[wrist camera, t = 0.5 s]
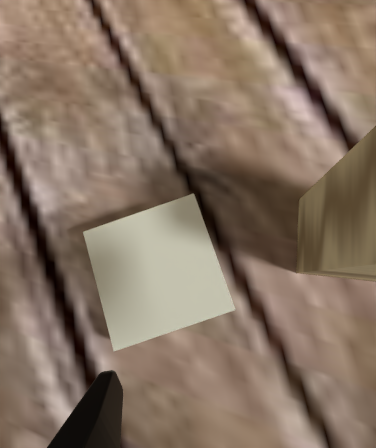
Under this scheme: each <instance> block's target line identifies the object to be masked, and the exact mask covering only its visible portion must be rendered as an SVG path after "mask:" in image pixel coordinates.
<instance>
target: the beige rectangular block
mask: <svg viewBox="0 0 376 448" xmlns="http://www.w3.org/2000/svg"><path fill="white" fill-rule="evenodd" d="M296 273H301V274H310V275H319V276H329V277H338V278H347V279H356V280H366V281H375V282H376V126H375V127H374V128H373V129H372V130H371V131H370V132H369V133H368V134H367V135H366V136H365V137H364V138H363V139H362V140H360V141H359V142H358V143H357V144H356V145H355V146H354V147H353V148H352V149H351V150H350V151H349V152H348V153H347V154H346V155H345V156H344V157H343V158H342V159H341V160H340V161H339V162H338V163H336V164H335V165H334V166H333V167H332V168H331V169H330V170H329V171H328V172H327V173H326V174H325V175H324V176H323V177H322V178H321V179H320V180H319V181H318V182H317V183H316V184H315V185H314V186H312V187H311V188H310V189H309V190H308V191H307V192H306V193H305V194H304V195H303V196H302V197H301V198H300V199H299V216H298V241H297V266H296Z"/></svg>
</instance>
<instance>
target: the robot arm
mask: <svg viewBox="0 0 376 448" xmlns="http://www.w3.org/2000/svg"><path fill="white" fill-rule="evenodd" d="M122 405H123V389H122V385H121V383H120V381H119V379H118V376H117V374H116V372H115V371H113V370H111V371H104V372H101V373H100V374H99V375H98V376H97V378H96V379H95V381H94V382H93V383H92V385H91V386H90V388H89V389H88V390H87V392H86V393H85V395H84V396H83V398H82V399H81V400H80V402H79V403H78V405H77V406H76V407H75V409H74V410H73V412H72V413H71V414H70V416H69V417H68V419H67V420H66V422H65V423H64V424H63V426H62V427H61V429H60V430H59V431H58V433H57V434H56V436H55V437H54V438H53V440H52V441H51V443H50V444H49V445H48V447H47V448H120V439H121V422H122Z"/></svg>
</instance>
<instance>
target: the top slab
mask: <svg viewBox="0 0 376 448" xmlns="http://www.w3.org/2000/svg"><path fill="white" fill-rule="evenodd" d="M83 234H84V238H85V242H86V245H87V249H88V253H89V257H90V261H91V265H92V269H93V273H94V276H95V280H96V284H97V288H98V292H99V296H100V300H101V304H102V307H103V311H104V315H105V319H106V323H107V327H108V331H109V335H110V338H111V342H112V346H113V350H114V351H116V350H119V349H122V348H125V347H128V346H131V345H134V344H137V343H140V342H143V341H146V340H149V339H152V338H155V337H157V336H160V335H163V334H166V333H169V332H172V331H175V330H178V329H181V328H184V327H187V326H190V325H193V324H195V323H198V322H201V321H204V320H207V319H210V318H213V317H216V316H219V315H222V314H225V313H228V312H231V311H233V310H235V307H234V304H233V301H232V299H231V296H230V293H229V290H228V287H227V285H226V282H225V279H224V276H223V273H222V271H221V268H220V265H219V262H218V259H217V257H216V254H215V251H214V248H213V245H212V243H211V240H210V237H209V234H208V231H207V229H206V226H205V223H204V220H203V217H202V215H201V212H200V209H199V206H198V203H197V201H196V198H195V195H194V193H193V194H190V195H188V196H185V197H182V198H179V199H176V200H173V201H170V202H167V203H165V204H162V205H159V206H156V207H153V208H150V209H147V210H144V211H142V212H139V213H136V214H133V215H130V216H127V217H124V218H121V219H119V220H116V221H113V222H110V223H107V224H104V225H101V226H98V227H96V228H93V229H90V230H87V231H84V232H83Z"/></svg>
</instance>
